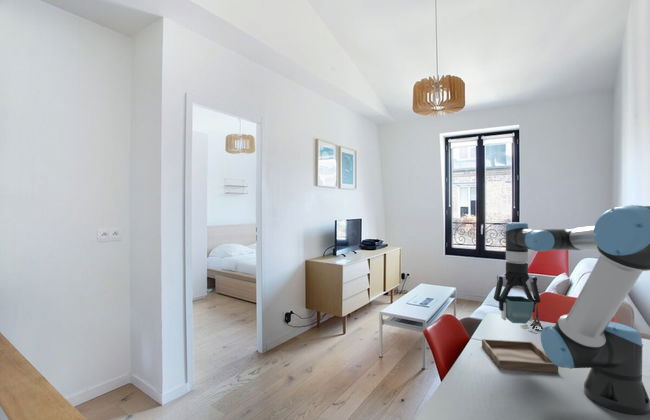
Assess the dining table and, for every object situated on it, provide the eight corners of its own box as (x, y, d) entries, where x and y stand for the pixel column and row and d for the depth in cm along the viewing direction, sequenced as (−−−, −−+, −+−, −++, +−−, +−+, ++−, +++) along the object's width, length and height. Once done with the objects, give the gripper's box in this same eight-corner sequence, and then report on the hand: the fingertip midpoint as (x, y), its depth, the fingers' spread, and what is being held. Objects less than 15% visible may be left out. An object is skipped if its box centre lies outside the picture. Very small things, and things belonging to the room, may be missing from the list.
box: (558, 372, 116) (558, 364, 116) (499, 368, 119) (499, 360, 119) (531, 349, 135) (531, 341, 135) (481, 346, 138) (481, 339, 138)
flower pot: (522, 318, 131) (522, 295, 131) (534, 326, 122) (534, 302, 122) (499, 317, 132) (499, 295, 132) (510, 325, 123) (510, 301, 123)
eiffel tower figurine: (535, 323, 167) (535, 297, 167) (556, 330, 157) (556, 302, 157) (516, 327, 161) (516, 300, 160) (536, 335, 151) (536, 306, 151)
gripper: (541, 260, 129) (541, 317, 129) (484, 259, 132) (484, 315, 132) (552, 264, 121) (551, 324, 121) (490, 262, 125) (490, 321, 125)
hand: (516, 319), depth 127 cm, fingers closed on flower pot, 9 cm apart
